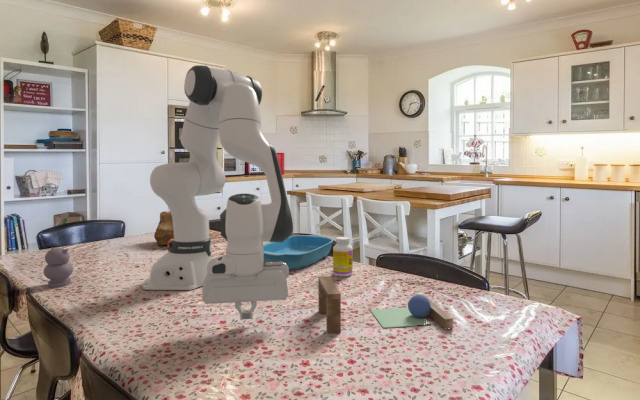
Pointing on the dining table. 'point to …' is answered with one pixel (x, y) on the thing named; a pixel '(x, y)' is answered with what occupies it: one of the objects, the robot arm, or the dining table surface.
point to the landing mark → (397, 317)
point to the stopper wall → (440, 315)
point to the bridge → (330, 303)
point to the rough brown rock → (164, 229)
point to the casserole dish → (298, 250)
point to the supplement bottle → (342, 257)
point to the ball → (419, 306)
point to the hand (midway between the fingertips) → (246, 318)
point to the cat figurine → (58, 267)
